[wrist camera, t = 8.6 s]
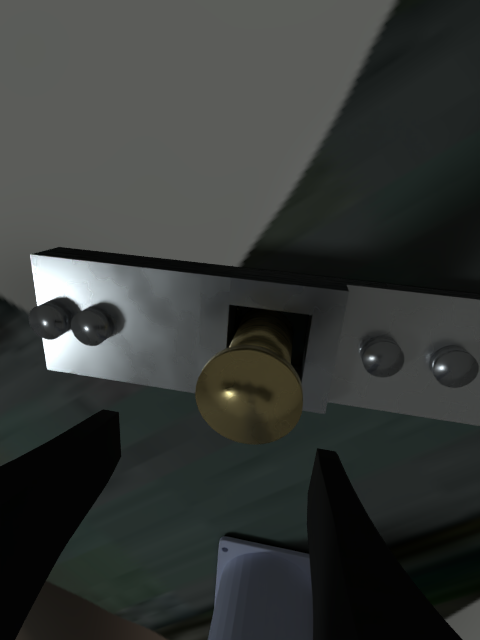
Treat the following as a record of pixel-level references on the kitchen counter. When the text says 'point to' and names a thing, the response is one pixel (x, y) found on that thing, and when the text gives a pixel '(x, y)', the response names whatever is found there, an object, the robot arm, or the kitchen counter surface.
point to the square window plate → (402, 348)
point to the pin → (253, 382)
